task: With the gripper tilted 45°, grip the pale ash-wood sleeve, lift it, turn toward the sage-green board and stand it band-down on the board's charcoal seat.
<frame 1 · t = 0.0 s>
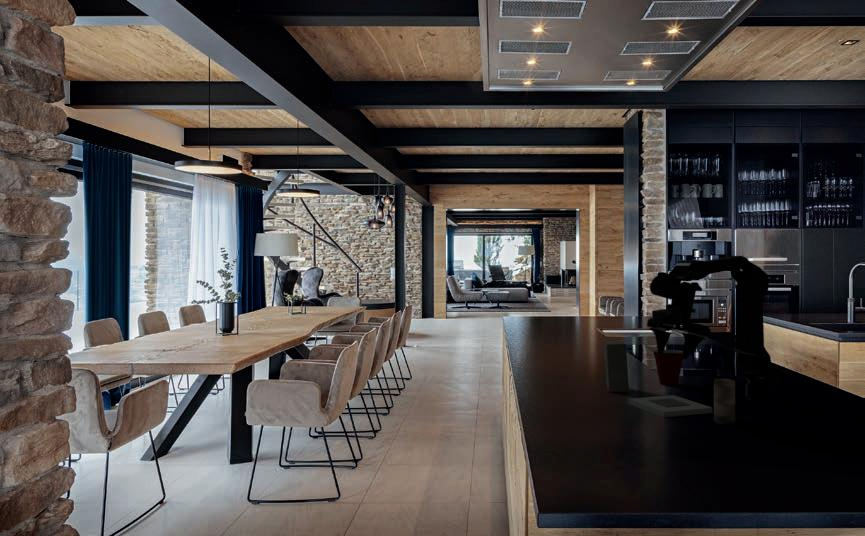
hand: (671, 356, 166), 15 cm above the countertop, tool pointing down, fingers open, 9 cm apart
sage board: (668, 408, 170), on the countertop
ash sleeve: (724, 422, 155), on the countertop
plastic cup: (668, 384, 203), on the countertop
skincare box: (616, 390, 194), on the countertop
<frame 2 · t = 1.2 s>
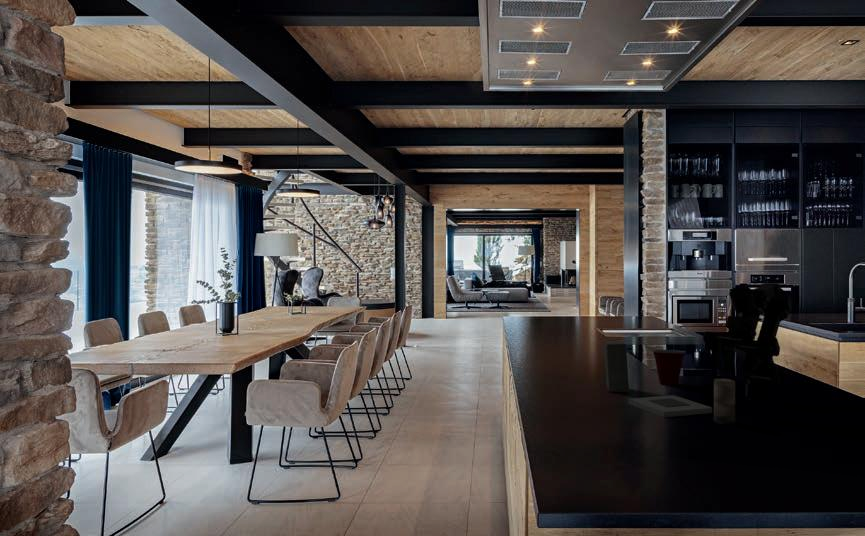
hand: (733, 367, 161), 13 cm above the countertop, tool tilted 45°, fingers open, 9 cm apart
nothing on the countertop moved.
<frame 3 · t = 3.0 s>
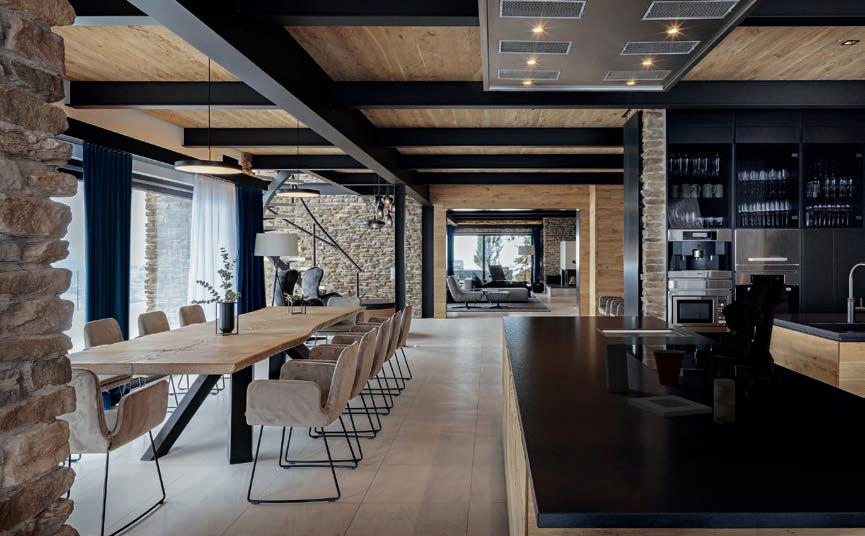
hand: (726, 387, 156), 9 cm above the countertop, tool tilted 45°, fingers open, 9 cm apart
nothing on the countertop moved.
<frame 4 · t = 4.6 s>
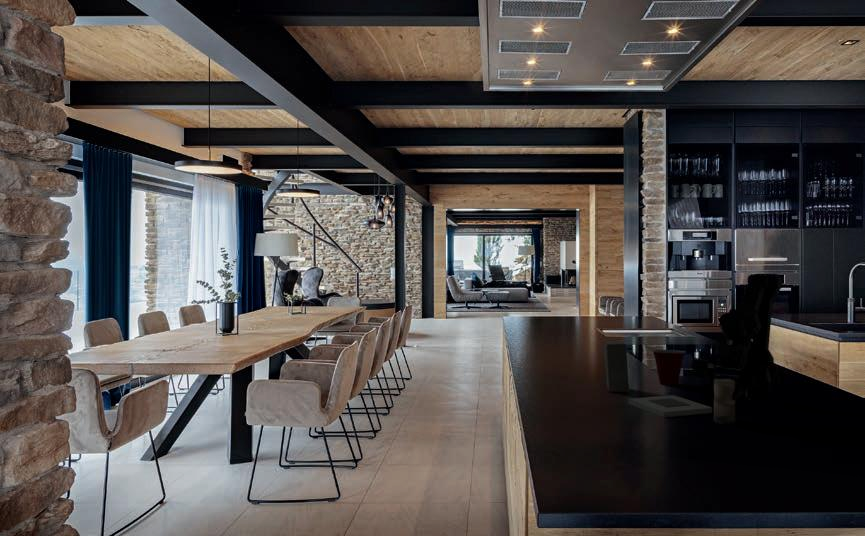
hand: (722, 397, 154), 7 cm above the countertop, tool tilted 45°, fingers closed on ash sleeve, 5 cm apart
ash sleeve: (724, 421, 155), on the countertop, touching gripper
everything else where it was.
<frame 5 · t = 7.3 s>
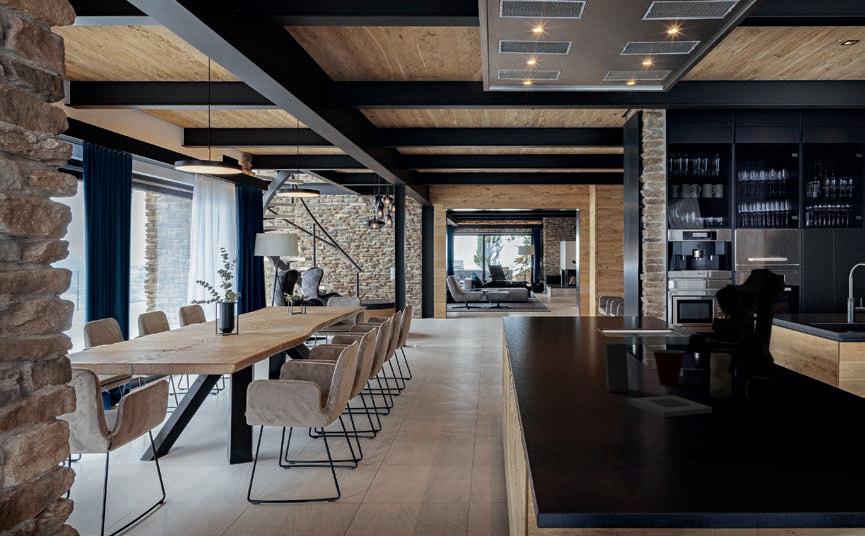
hand: (718, 371, 155), 13 cm above the countertop, tool tilted 45°, fingers closed on ash sleeve, 5 cm apart
ash sleeve: (720, 395, 156), point 7 cm above the countertop, touching gripper
everything else where it was.
when the fingers open (10 cm above the countertop, at t = 10.3 s): ash sleeve drops 1 cm, resting on sage board.
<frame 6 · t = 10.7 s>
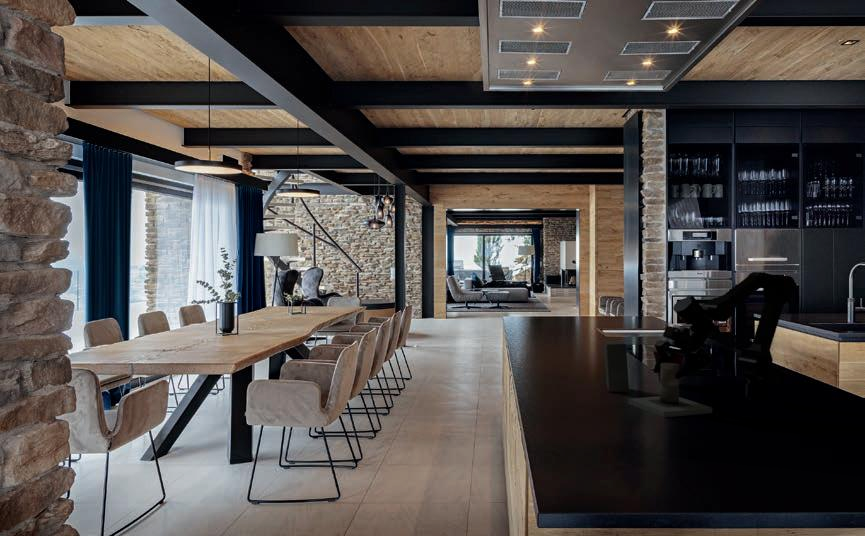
hand: (664, 374, 169), 10 cm above the countertop, tool tilted 45°, fingers open, 9 cm apart
ash sleeve: (669, 402, 170), point 2 cm above the countertop, touching sage board
everything else where it was.
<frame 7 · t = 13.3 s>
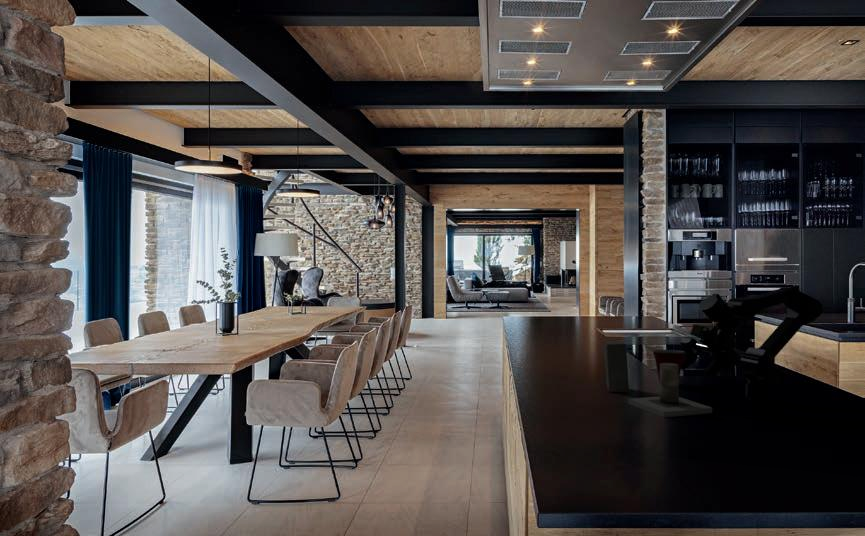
hand: (693, 372, 172), 10 cm above the countertop, tool tilted 45°, fingers open, 9 cm apart
nothing on the countertop moved.
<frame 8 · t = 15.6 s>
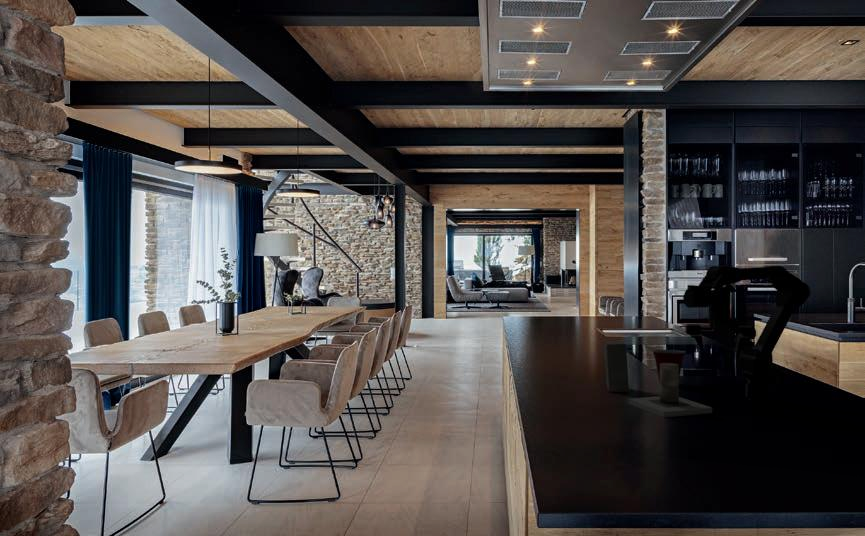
hand: (719, 358, 177), 13 cm above the countertop, tool pointing down, fingers open, 9 cm apart
nothing on the countertop moved.
at the end: ash sleeve inside the target area on the sage board (0.1 cm from its centre), point 1.7 cm above the sage board's base; ash sleeve tilted 0°; the gripper is holding nothing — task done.
